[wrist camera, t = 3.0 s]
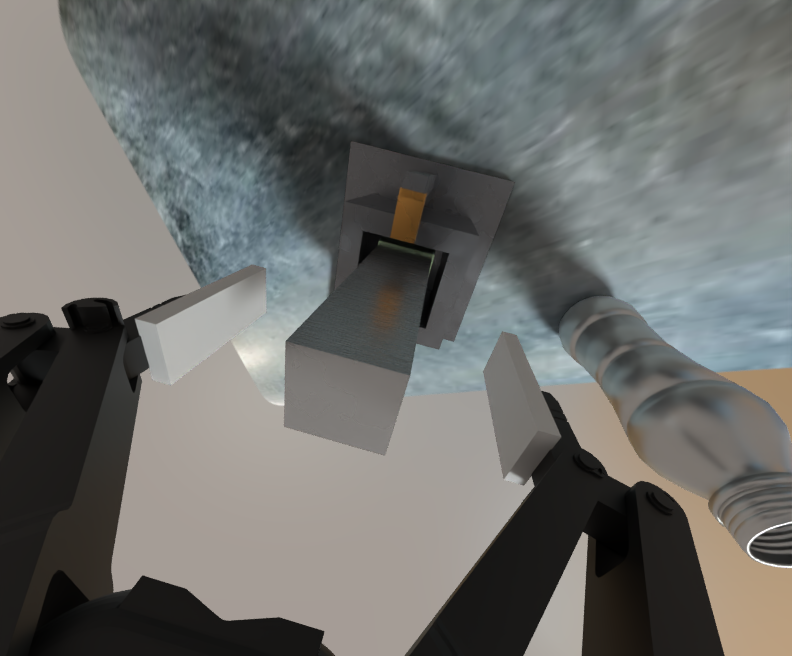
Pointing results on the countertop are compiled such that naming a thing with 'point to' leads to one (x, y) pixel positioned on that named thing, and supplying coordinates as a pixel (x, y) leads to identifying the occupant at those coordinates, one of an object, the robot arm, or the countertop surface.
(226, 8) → the countertop surface
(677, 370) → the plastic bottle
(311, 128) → the countertop surface
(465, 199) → the stand
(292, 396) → the column
